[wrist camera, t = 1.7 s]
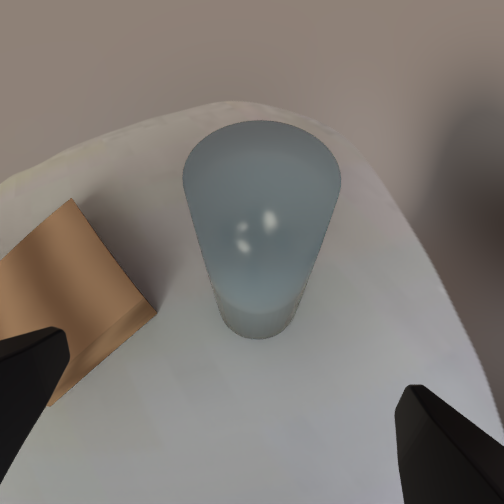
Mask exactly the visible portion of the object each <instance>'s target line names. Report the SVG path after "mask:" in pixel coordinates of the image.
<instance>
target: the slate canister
mask: <svg viewBox="0 0 504 504" xmlns="http://www.w3.org/2000/svg"><path fill="white" fill-rule="evenodd" d="M183 187H184V191H185V195H186V198H187V202H188V206H189V209H190V213H191V217H192V220H193V224H194V227H195V231H196V234H197V238H198V241H199V245H200V248H201V252H202V255H203V259H204V262H205V265H206V269H207V272H208V275H209V279H210V282H211V285H212V289H213V292H214V295H215V298H216V302H217V305H218V308H219V311H220V314H221V317H222V319H223V321H224V322H225V324H226V325H227V326H228V327H229V328H230V329H231V330H232V331H233V332H235V333H236V334H238V335H240V336H242V337H245V338H249V339H266V338H270V337H273V336H275V335H277V334H279V333H280V332H282V331H283V330H284V329H285V328H286V327H287V326H288V325H289V324H290V323H291V321H292V319H293V317H294V315H295V312H296V310H297V307H298V305H299V302H300V300H301V297H302V295H303V292H304V290H305V287H306V285H307V282H308V279H309V277H310V274H311V271H312V269H313V266H314V263H315V261H316V258H317V255H318V253H319V250H320V247H321V244H322V242H323V239H324V236H325V233H326V231H327V228H328V225H329V222H330V219H331V216H332V214H333V211H334V208H335V205H336V202H337V199H338V196H339V192H340V188H341V175H340V170H339V166H338V164H337V161H336V159H335V157H334V156H333V154H332V153H331V151H330V150H329V149H328V148H327V147H326V146H325V145H324V144H323V143H322V142H321V141H320V140H319V139H317V138H316V137H314V136H313V135H312V134H310V133H308V132H306V131H304V130H302V129H300V128H298V127H295V126H292V125H289V124H285V123H280V122H274V121H262V120H261V121H246V122H240V123H235V124H232V125H229V126H226V127H223V128H221V129H219V130H217V131H215V132H213V133H211V134H210V135H208V136H207V137H205V138H204V139H203V140H202V141H200V142H199V143H198V144H197V145H196V147H195V148H194V149H193V150H192V152H191V153H190V155H189V156H188V158H187V160H186V163H185V166H184V169H183Z"/></svg>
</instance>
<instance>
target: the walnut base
mask: <svg viewBox="0 0 504 504" xmlns="http://www.w3.org/2000/svg"><path fill="white" fill-rule="evenodd" d="M156 314H157V312H156V311H155V310H154V309H153V307H152V306H151V305H150V304H149V302H148V301H147V300H146V299H145V298H144V296H143V295H142V294H141V293H140V291H139V290H138V289H137V287H136V286H135V285H134V284H133V282H132V281H131V280H130V278H129V277H128V276H127V275H126V273H125V272H124V271H123V269H122V268H121V267H120V265H119V264H118V263H117V261H116V260H115V259H114V257H113V256H112V255H111V253H110V252H109V250H108V249H107V248H106V246H105V245H104V244H103V242H102V241H101V239H100V238H99V237H98V235H97V234H96V232H95V231H94V229H93V228H92V227H91V225H90V224H89V222H88V221H87V219H86V218H85V216H84V215H83V214H82V212H81V211H80V209H79V208H78V206H77V205H76V204H75V202H74V201H73V199H72V198H71V199H70V200H68V201H67V202H66V203H65V204H63V205H62V206H61V207H60V208H58V209H57V210H56V211H55V212H54V213H52V214H51V215H50V216H49V217H48V218H47V219H45V220H44V221H43V222H42V223H41V224H40V225H39V226H37V227H36V228H35V229H34V230H33V231H32V232H31V233H30V234H28V235H27V236H26V237H25V238H24V239H23V240H22V241H21V242H20V243H19V244H18V245H17V246H15V247H14V248H13V249H12V250H11V251H10V252H9V253H8V254H7V255H6V256H5V257H4V258H3V259H2V260H1V261H0V340H3V339H7V338H10V337H14V336H17V335H21V334H25V333H28V332H32V331H35V330H39V329H43V328H46V327H50V326H54V327H57V328H60V329H63V330H64V331H65V333H66V336H67V341H68V346H69V350H70V361H69V363H68V365H67V367H66V369H65V371H64V373H63V375H62V377H61V379H60V381H59V383H58V384H57V386H56V388H55V390H54V392H53V394H52V396H51V398H50V400H49V402H48V404H47V405H46V406H49V407H50V406H51V405H53V404H54V403H55V402H56V401H57V400H58V399H59V398H61V397H62V396H63V395H64V394H65V393H66V392H67V391H68V390H70V389H71V388H72V387H73V386H74V385H75V384H76V383H78V382H79V381H80V380H81V379H82V378H83V377H84V376H86V375H87V374H88V373H89V372H90V371H91V370H92V369H94V368H95V367H96V366H97V365H98V364H99V363H100V362H102V361H103V360H104V359H105V358H106V357H107V356H109V355H110V354H111V353H112V352H113V351H114V350H115V349H117V348H118V347H119V346H120V345H121V344H122V343H124V342H125V341H126V340H127V339H128V338H129V337H131V336H132V335H133V334H134V333H135V332H136V331H138V330H139V329H140V328H141V327H142V326H143V325H145V324H146V323H147V322H148V321H149V320H150V319H152V318H153V317H154V316H155V315H156Z"/></svg>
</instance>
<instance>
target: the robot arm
mask: <svg viewBox="0 0 504 504" xmlns="http://www.w3.org/2000/svg"><path fill="white" fill-rule="evenodd" d="M69 361H70V350H69V346H68V341H67V336H66V333H65V331H64V330H63V329H60V328H57V327H54V326H50V327H46V328H43V329H39V330H35V331H32V332H28V333H25V334H21V335H17V336H14V337H10V338H7V339H3V340H0V484H1V482H2V480H3V479H4V477H5V475H6V473H7V471H8V469H9V468H10V466H11V464H12V462H13V460H14V459H15V457H16V455H17V453H18V452H19V450H20V448H21V446H22V445H23V443H24V441H25V440H26V438H27V436H28V435H29V433H30V431H31V430H32V428H33V426H34V425H35V423H36V421H37V420H38V418H39V417H40V415H41V413H42V412H43V410H44V409H45V407H46V405H47V404H48V402H49V400H50V398H51V396H52V394H53V392H54V390H55V388H56V386H57V384H58V383H59V381H60V379H61V377H62V375H63V373H64V371H65V369H66V367H67V365H68V363H69ZM395 427H396V440H397V455H398V466H399V473H400V479H401V485H402V492H403V498H404V504H504V446H503V445H501V444H500V443H499V442H497V441H496V440H495V439H493V438H492V437H491V436H489V435H488V434H487V433H485V432H484V431H483V430H481V429H480V428H479V427H477V426H476V425H475V424H474V423H472V422H471V421H470V420H468V419H467V418H466V417H464V416H463V415H462V414H460V413H459V412H458V411H456V410H455V409H454V408H452V407H451V406H450V405H449V404H447V403H446V402H445V401H443V400H442V399H441V398H439V397H438V396H437V395H435V394H434V393H433V392H431V391H430V390H429V389H428V388H426V387H425V386H423V385H408V386H407V387H406V388H405V390H404V392H403V394H402V396H401V398H400V400H399V403H398V405H397V407H396V409H395Z"/></svg>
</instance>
